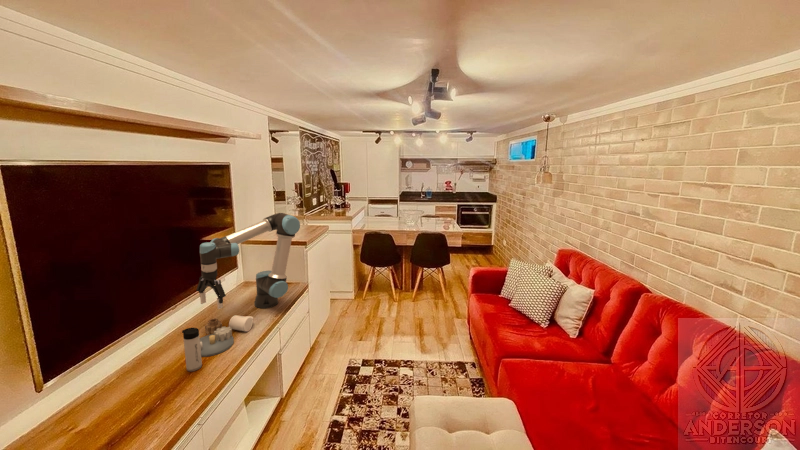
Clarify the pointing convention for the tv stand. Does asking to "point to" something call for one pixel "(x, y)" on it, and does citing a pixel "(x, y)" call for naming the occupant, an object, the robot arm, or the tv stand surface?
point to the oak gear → (212, 326)
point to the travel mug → (192, 349)
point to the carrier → (216, 342)
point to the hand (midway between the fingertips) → (211, 305)
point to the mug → (241, 323)
